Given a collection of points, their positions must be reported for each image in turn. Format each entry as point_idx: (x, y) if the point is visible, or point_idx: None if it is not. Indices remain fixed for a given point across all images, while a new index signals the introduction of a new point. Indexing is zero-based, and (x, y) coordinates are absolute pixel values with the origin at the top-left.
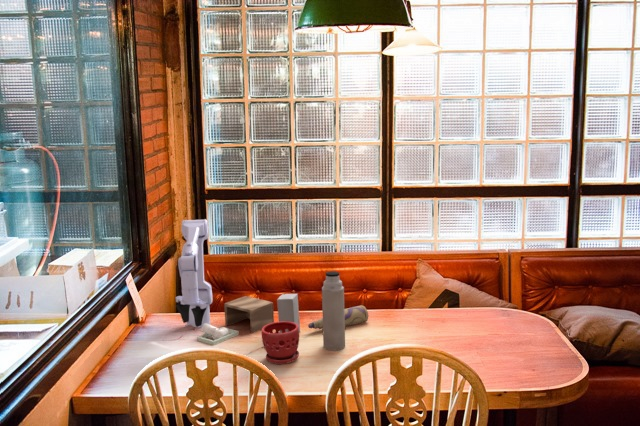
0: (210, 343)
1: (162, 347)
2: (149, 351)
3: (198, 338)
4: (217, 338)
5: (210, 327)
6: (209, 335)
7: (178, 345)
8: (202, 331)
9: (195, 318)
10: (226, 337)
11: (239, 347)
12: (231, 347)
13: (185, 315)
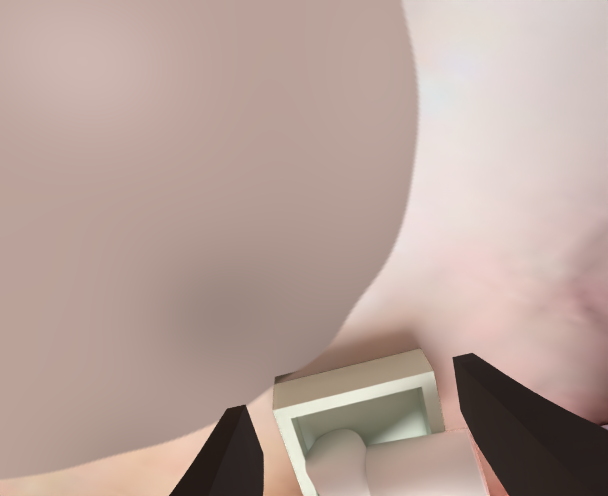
0: (304, 390)
1: (528, 131)
2: (539, 9)
3: (419, 368)
4: (325, 449)
5: (410, 491)
6: None
7: (471, 236)
8: (459, 429)
9: (186, 493)
10: (302, 489)
11: None
12: None
13: (505, 446)
